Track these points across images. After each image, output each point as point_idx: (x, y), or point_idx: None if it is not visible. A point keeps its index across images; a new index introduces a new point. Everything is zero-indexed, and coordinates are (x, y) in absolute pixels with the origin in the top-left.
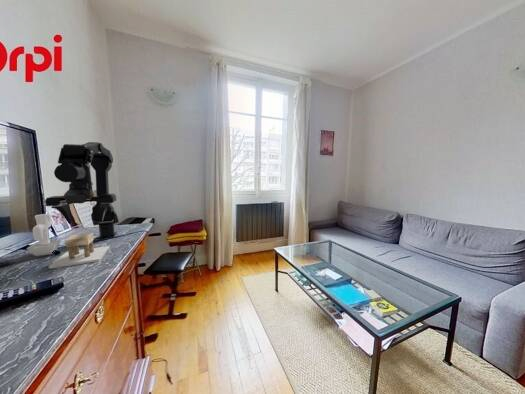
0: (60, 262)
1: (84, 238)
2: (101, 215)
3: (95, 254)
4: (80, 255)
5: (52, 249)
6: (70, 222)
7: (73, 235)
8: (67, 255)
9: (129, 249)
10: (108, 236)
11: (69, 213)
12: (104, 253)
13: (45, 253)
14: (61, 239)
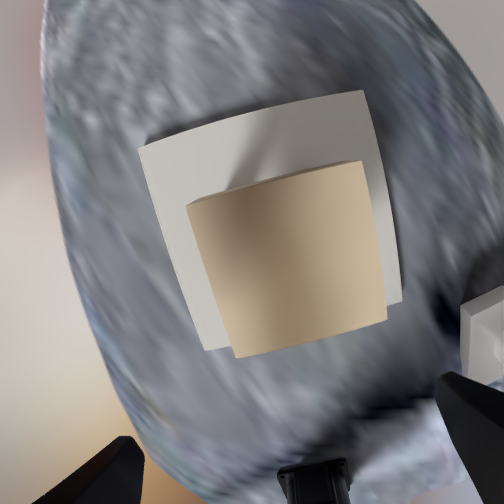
0: (338, 132)
1: (210, 199)
2: (77, 478)
3: None
4: None
5: (465, 309)
6: (443, 392)
7: (373, 309)
8: None
9: (83, 298)
10: (297, 470)
11: (495, 490)
12: (171, 251)
13: (479, 298)
14: None
